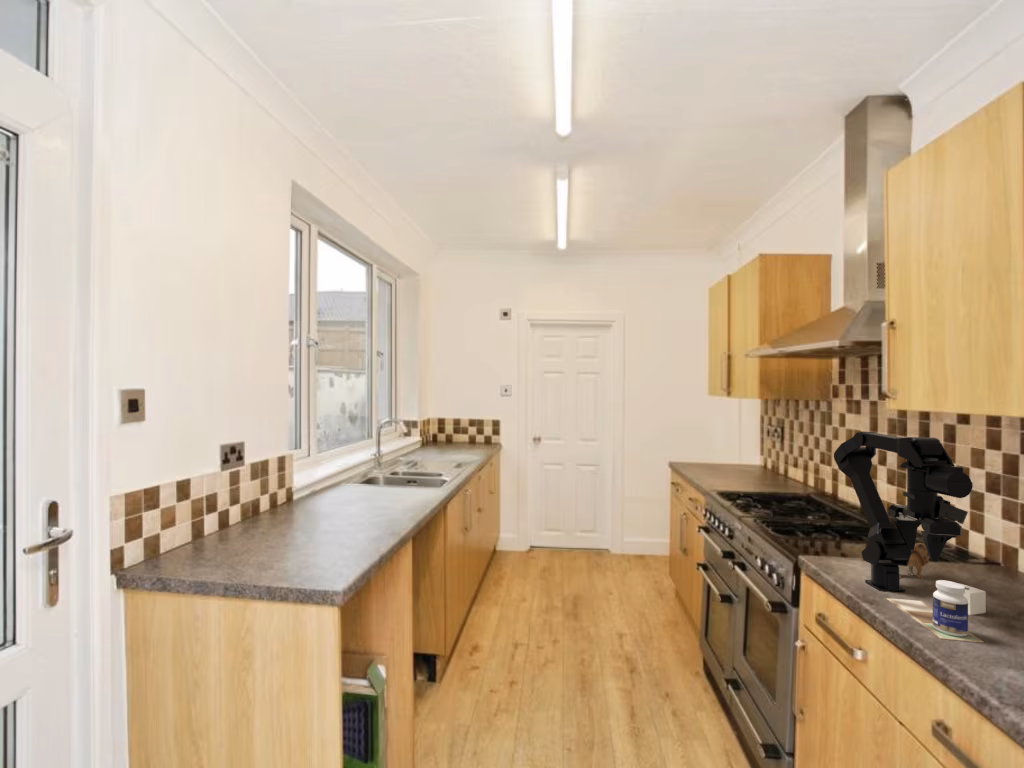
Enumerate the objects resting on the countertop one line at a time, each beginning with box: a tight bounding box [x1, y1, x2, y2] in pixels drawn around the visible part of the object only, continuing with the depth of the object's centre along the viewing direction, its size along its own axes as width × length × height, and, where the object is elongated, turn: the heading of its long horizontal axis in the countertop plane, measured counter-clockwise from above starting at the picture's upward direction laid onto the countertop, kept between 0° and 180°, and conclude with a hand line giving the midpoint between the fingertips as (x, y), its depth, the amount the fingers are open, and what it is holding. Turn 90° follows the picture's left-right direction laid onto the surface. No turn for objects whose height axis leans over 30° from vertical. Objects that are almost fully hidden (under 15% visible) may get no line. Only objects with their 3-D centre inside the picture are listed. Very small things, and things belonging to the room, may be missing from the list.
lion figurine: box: [898, 542, 930, 579], centre depth 143 cm, size 15×5×9 cm, turn 96°
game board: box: [886, 597, 984, 644], centre depth 115 cm, size 21×8×1 cm, turn 169°
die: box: [960, 583, 987, 616], centre depth 120 cm, size 5×5×5 cm
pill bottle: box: [932, 579, 969, 637], centre depth 108 cm, size 6×6×10 cm
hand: (922, 555), depth 122 cm, fingers open, 9 cm apart
